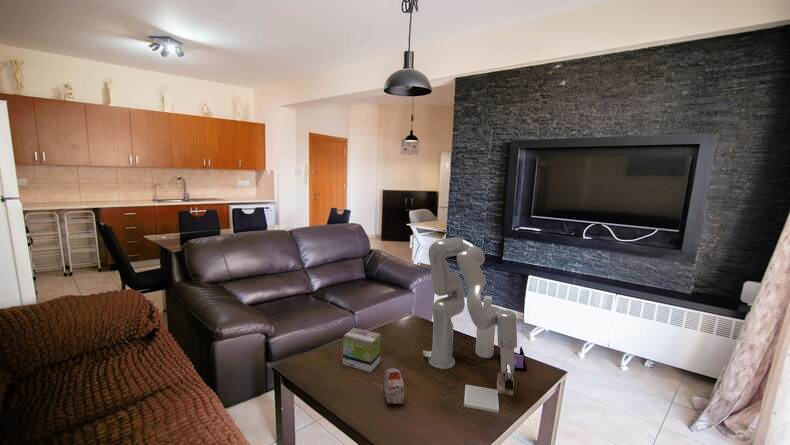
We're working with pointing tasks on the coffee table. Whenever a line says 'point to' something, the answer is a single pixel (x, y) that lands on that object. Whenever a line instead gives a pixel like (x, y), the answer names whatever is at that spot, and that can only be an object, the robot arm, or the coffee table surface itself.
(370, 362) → the tea box
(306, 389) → the coffee table surface
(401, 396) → the food item
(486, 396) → the plate
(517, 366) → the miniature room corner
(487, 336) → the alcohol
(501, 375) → the maple cube
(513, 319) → the robot arm
